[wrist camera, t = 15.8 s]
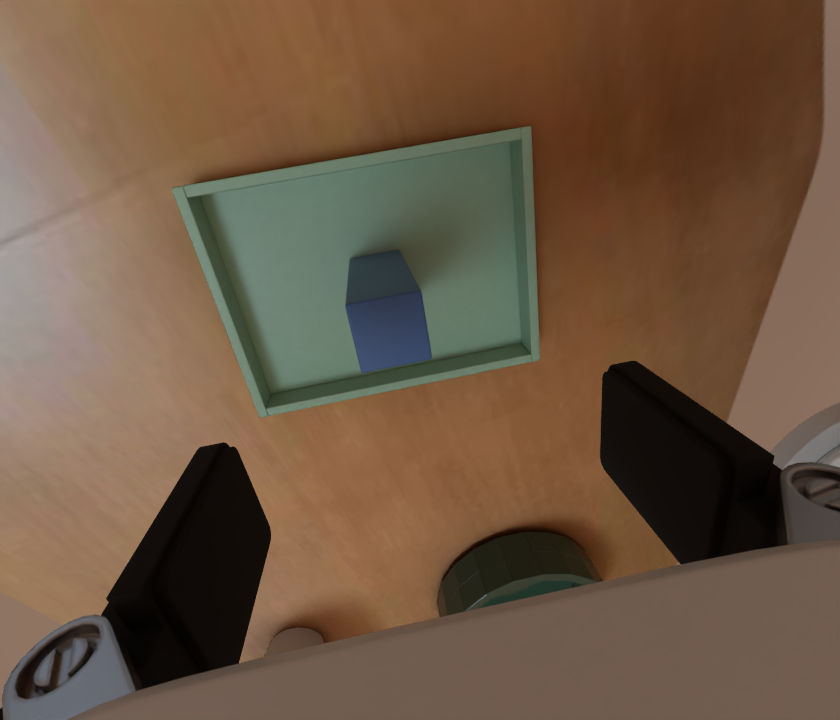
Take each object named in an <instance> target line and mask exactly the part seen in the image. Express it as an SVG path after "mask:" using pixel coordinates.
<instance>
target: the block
mask: <svg viewBox="0 0 840 720" xmlns="http://www.w3.org/2000/svg"><path fill="white" fill-rule="evenodd" d="M345 308H346V312H347V317H348V321H349V325H350V329H351V333H352V337H353V341H354V345H355V349H356V353H357V357H358V361H359V365H360V369H361V372H362V373H365V372H370V371H375V370H380V369H385V368H390V367H395V366H400V365H404V364H409V363H414V362H419V361H424V360H429V359H432V353H431V347H430V341H429V334H428V328H427V322H426V316H425V309H424V303H423V297H422V291H421V290H420V288H419V286H418V284H417V282H416V280H415V278H414V276H413V274H412V273H411V271H410V269H409V267H408V265H407V263H406V261H405V259H404V257H403V256H402V254H401V252H400V250H392V251H387V252H382V253H376V254H371V255H366V256H360V257H355V258H350V259H349V269H348V280H347V291H346V302H345Z"/></svg>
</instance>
